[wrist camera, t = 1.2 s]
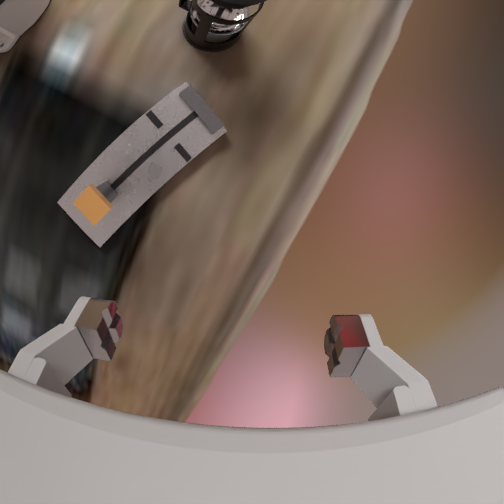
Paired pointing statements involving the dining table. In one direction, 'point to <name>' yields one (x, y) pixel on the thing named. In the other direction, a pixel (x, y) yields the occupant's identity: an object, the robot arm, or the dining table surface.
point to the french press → (216, 21)
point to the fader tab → (96, 201)
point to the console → (146, 158)
